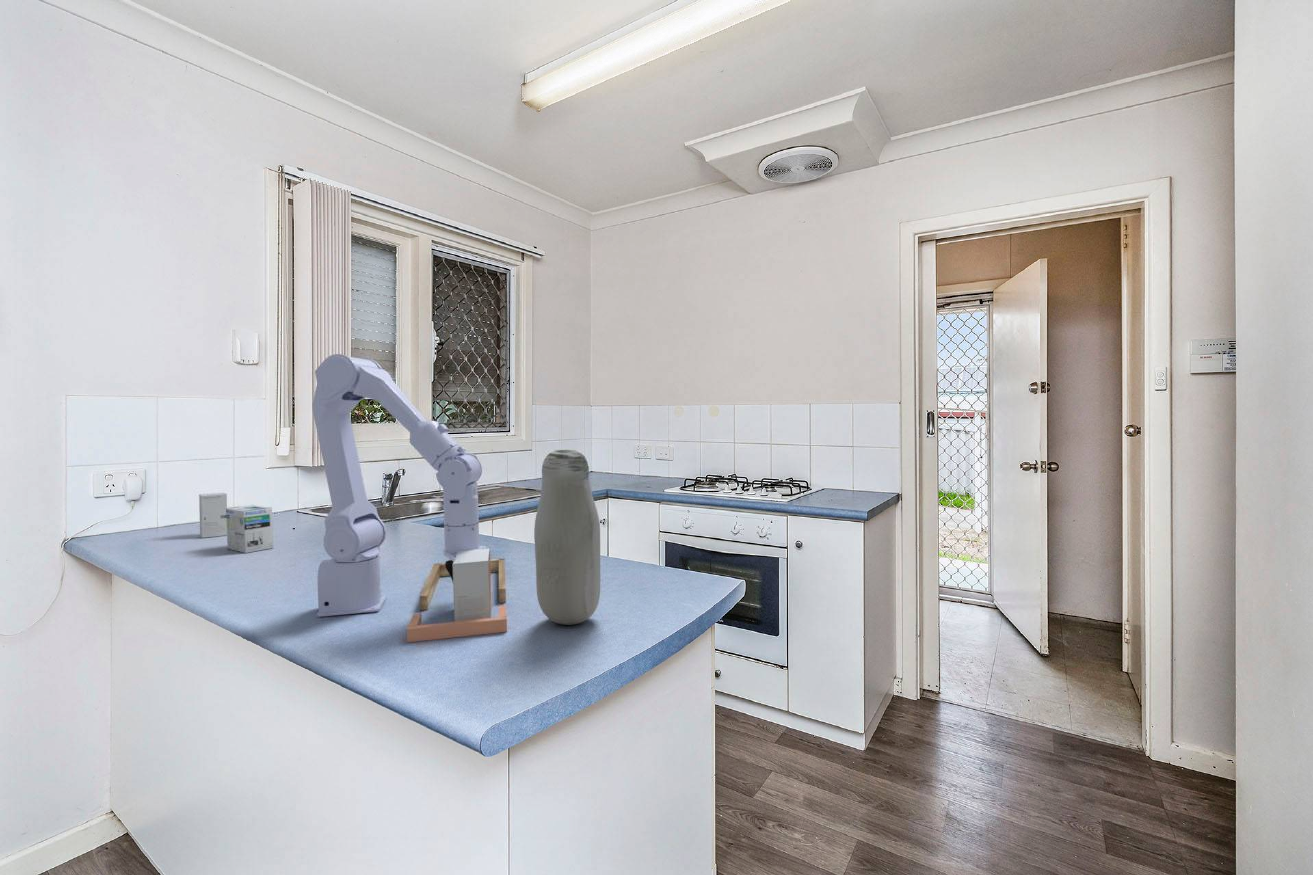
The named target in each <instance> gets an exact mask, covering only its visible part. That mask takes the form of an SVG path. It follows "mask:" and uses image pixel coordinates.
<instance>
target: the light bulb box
mask: <svg viewBox="0 0 1313 875" xmlns="http://www.w3.org/2000/svg"><path fill="white" fill-rule="evenodd" d="M226 521H227V535H226V540H227V549H228V550H233V551H237V552H240V553H243V554H249V553H254V552H259V551H260V552H261V551H265V550H269V549H274V548H275V545H274V542H275V541H274V528H273V527H274V526H273V522H274V521H273V508H272V506H271V507H269V506H263V505H262V506H261V505H255V504H249V505H241V506H240V505H239V506H231V507H228V506H227V508H226Z"/></svg>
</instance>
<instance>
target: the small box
mask: <svg viewBox="0 0 1313 875" xmlns="http://www.w3.org/2000/svg"><path fill="white" fill-rule="evenodd" d="M457 558H459V559H457ZM490 560H491V549H490V548H486V549H474V550H466V551H457V553H456V557H455V560H454V562H453V564H452V565H453V581H452V586H453V587H452V589H453V611H454V612H453V614H454V615H453V616H454V617H453V618H454V622H456V621H466V620H476V619H486V618H492V577H491V576H492V574H491V573H492V572H491V564H490Z"/></svg>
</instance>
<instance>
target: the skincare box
mask: <svg viewBox="0 0 1313 875" xmlns="http://www.w3.org/2000/svg"><path fill="white" fill-rule="evenodd" d="M227 495H228V494H227V493H226V492H214V493H213V492H211V493H202V494H201V493H199V495H198V496H199V498H198V499H199V500H198V501H199V536H200V537H201V539H205V538H215V537H221V536H227V521H226V508H228V500H227V499H228V496H227Z"/></svg>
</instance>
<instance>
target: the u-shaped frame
mask: <svg viewBox="0 0 1313 875" xmlns="http://www.w3.org/2000/svg"><path fill="white" fill-rule="evenodd" d="M505 560H506V559H505V558H493V559H491V558H490V564H491V573H498V603H499V604H501V603H504V604H505V603H507V597H506V596H507V594H506V593H507V592H506V591H507V590H506V564H505V563H506V561H505ZM445 563H446V562H441V563H433V565H432V567H431V570H430V572H429V574H428V577H427V579H426V580H425V584H424V585H423V588H422V590H421V593H420V595H419V610H420V611H427V610H429V608H430V604H431V601H432V598H433V597H434V593H435V591H436V589H437V585H438V582H439V580H440V577H451V576H450V574H449V572H448V571H447V569H446V567H445Z"/></svg>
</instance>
